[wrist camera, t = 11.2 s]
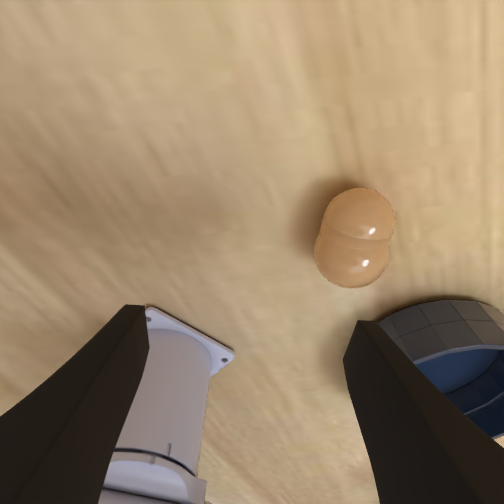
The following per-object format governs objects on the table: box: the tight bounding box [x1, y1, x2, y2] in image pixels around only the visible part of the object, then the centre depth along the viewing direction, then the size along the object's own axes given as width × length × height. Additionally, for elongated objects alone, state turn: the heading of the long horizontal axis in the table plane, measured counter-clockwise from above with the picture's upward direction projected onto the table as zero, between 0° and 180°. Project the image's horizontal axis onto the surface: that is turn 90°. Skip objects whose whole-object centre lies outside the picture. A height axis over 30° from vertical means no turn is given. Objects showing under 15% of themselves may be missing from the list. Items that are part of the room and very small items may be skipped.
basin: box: [377, 300, 504, 440], centre depth 24 cm, size 13×13×4 cm
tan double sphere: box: [314, 188, 395, 288], centre depth 17 cm, size 6×4×4 cm
